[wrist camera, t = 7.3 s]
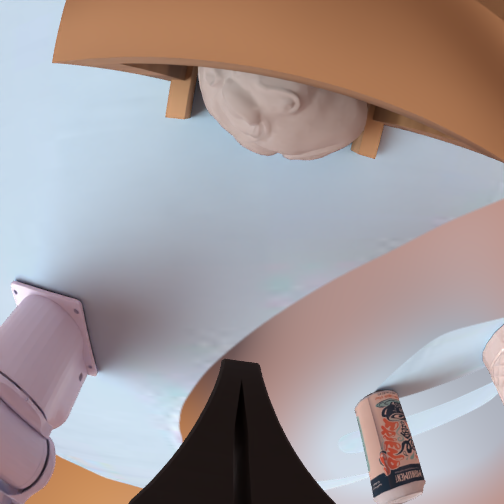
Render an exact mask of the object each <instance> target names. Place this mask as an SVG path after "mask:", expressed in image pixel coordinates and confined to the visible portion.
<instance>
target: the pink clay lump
mask: <svg viewBox="0 0 504 504" xmlns="http://www.w3.org/2000/svg"><path fill="white" fill-rule="evenodd" d="M198 78H199V84H200V89H201V92H202V96H203V100H204V103H205V106H206V108H207V110H208V111H209V113H210V114H211V115H212V116H213V117H214V118H215V119H216V120H217V121H218V122H219V124H220V125H221V126H222V127H223V128H224V129H225V130H227V131H228V132H229V133H230V134H231V135H233V136H234V138H235V139H236V140H237V141H238V142H239V143H240V145H242V146H243V147H245V148H247V149H248V150H250V151H252V152H255V153H257V154H260V155H266V156H270V155H274V154H276V153H280V154H282V155H283V156H284V157H285V158H287V159H290V160H313V159H318V158H322V157H324V156H326V155H328V154H330V153H332V152H335V151H337V150H340V149H342V148H344V147H346V146H347V145H349V144H351V143H352V142H353V141H354V140H355V139H357V138H358V137H359V136H360V135H361V133H362V131H364V127H365V125H366V120H367V111H368V108H367V102H364V101H361V100H358V99H355V98H352V97H348V96H345V95H342V94H338V93H335V92H332V91H328V90H324V89H321V88H317V87H313V86H309V85H305V84H301V83H297V82H292V81H288V80H283V79H278V78H273V77H268V76H263V75H257V74H251V73H245V72H239V71H232V70H225V69H217V68H208V67H198Z"/></svg>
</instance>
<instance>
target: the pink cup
mask: <svg viewBox="0 0 504 504" xmlns="http://www.w3.org/2000/svg"><path fill="white" fill-rule="evenodd" d="M483 362H484V364H485V365H486V367H487V369H488V371H489V373H490V374H491V377H492V380H493V383H494V385H495V386H496V388H497V391H498V394H499V395H500V398H501V400H502V402H503V404H504V325H503V326H502V327H501V328H500V329H499V330H498V331H497V332H495V334H494V335H493V336H492V338H491V339H490V340H489V342H488V343H487V345H486V347H485V349H484V351H483Z"/></svg>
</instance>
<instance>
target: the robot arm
mask: <svg viewBox="0 0 504 504" xmlns="http://www.w3.org/2000/svg"><path fill="white" fill-rule="evenodd" d="M11 288H12V292H13V295H14V298H15V302H16V305H17V307H16V308H15V310H14V311H13V312H12V313H11V314H10V316H9V317H8V318H7V319H6V320H5V322H4V323H3V324H2V325H1V327H0V504H24V503H25V502H26V501H27V500H28V498H29V497H31V496H32V495H33V494H35V493H36V492H38V491H39V490H41V489H42V488H43V487H44V486H45V485H46V484H47V483H48V481H49V480H50V478H51V476H52V474H53V471H54V467H55V446H54V443H53V441H52V439H51V438H50V437H49V435H50V433H51V431H52V430H53V429H55V428H57V427H59V426H60V425H62V424H63V423H64V422H65V421H66V419H67V418H68V416H69V414H70V412H71V409H72V407H73V405H74V403H75V400H76V398H77V396H78V394H79V392H80V389H81V387H82V385H83V383H84V381H85V379H86V377H87V375H91V376H96V375H97V373H98V372H97V368H96V365H95V361H94V357H93V353H92V349H91V345H90V341H89V336H88V332H87V327H86V323H85V318H84V312H83V307H82V304H81V302H80V301H79V300H77V299H74V298H70V297H66V296H63V295H59V294H56V293H53V292H49V291H46V290H42V289H39V288H36V287H33V286H30V285H26V284H23V283H20V282H17V281H13V282H12V283H11ZM129 504H336V503H335V502H334V501H333V500H332V499H331V498H330V497H329V496H328V495H327V494H326V493H325V492H324V490H323V489H322V488H321V487H320V486H319V485H318V483H317V482H316V481H315V480H314V478H313V477H312V476H311V474H310V473H309V472H308V471H307V469H306V468H305V466H304V465H303V463H302V462H301V460H300V459H299V457H298V456H297V454H296V453H295V451H294V449H293V448H292V446H291V444H290V442H289V441H288V439H287V437H286V435H285V433H284V431H283V429H282V427H281V425H280V423H279V421H278V418H277V416H276V414H275V411H274V409H273V406H272V404H271V401H270V399H269V396H268V393H267V390H266V387H265V384H264V381H263V377H262V373H261V368H260V365H259V364H258V363H252V362H244V361H236V360H230V359H224V360H222V362H221V367H220V372H219V375H218V378H217V381H216V384H215V386H214V389H213V391H212V393H211V395H210V397H209V400H208V402H207V404H206V406H205V408H204V410H203V411H202V413H201V415H200V417H199V419H198V420H197V422H196V424H195V425H194V427H193V428H192V430H191V432H190V433H189V435H188V436H187V438H186V439H185V440H184V442H183V443H182V445H181V446H180V447H179V449H178V450H177V451H176V453H175V454H174V455H173V457H172V458H171V459H170V460H169V461H168V463H167V464H166V465H165V466H164V467H163V468H162V470H161V471H160V472H159V473H158V474H157V475H156V476H155V477H154V478H153V479H152V481H151V482H150V483H149V484H148V485H147V486H146V487H144V488H143V489H142V490H141V491H140V492H139V493H138V494H137V495H136V496H135V497H134V498H133V499H132V500H131V501H130V502H129Z"/></svg>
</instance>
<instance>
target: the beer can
mask: <svg viewBox="0 0 504 504" xmlns="http://www.w3.org/2000/svg"><path fill="white" fill-rule="evenodd" d="M355 413H356V416H357V421H358V425H359V429H360V434H361V438H362V442H363V447H364V452H365V456H366V461H367V466H368V471H369V476H370V480H371V486H372V491H373V497H374V501H375V502H377V503H378V504H402V503H405V502H407V501H410V500H412V499H414V498H416V497H418V496H419V495H421V494H422V493H423V486H424V484H425V480H424V476H423V473H422V470H421V466H420V463H419V459H418V456H417V453H416V449H415V446H414V443H413V440H412V436H411V433H410V430H409V427H408V424H407V421H406V418H405V416H404V413H403V410H402V407H401V404H400V401H399V398H398V394H397V393H396V392H394V391H390V390H385V391H384V390H382V391H376V392H373V393H371V394H369V395H367V396H366V397H364V398H363V399H362V400H361V401H360V402H359V403H358V404H357V405H356V407H355Z"/></svg>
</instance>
